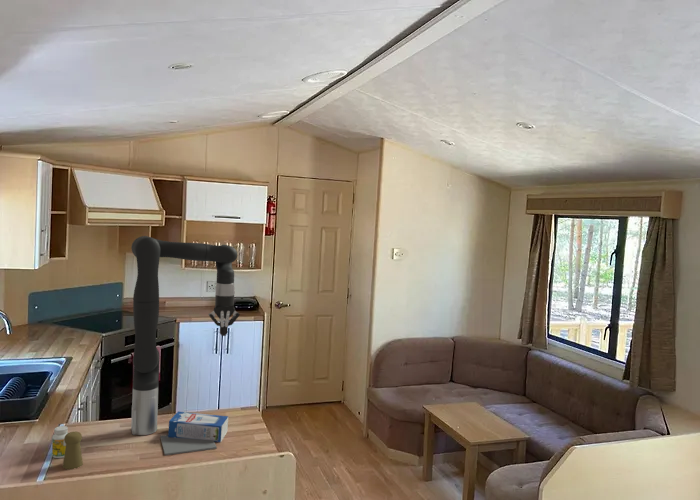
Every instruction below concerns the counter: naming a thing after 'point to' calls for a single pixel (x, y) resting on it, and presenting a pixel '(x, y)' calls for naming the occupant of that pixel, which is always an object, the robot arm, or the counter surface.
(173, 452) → the mat
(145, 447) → the counter surface
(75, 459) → the cork
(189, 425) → the milk carton
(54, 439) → the supplement bottle
